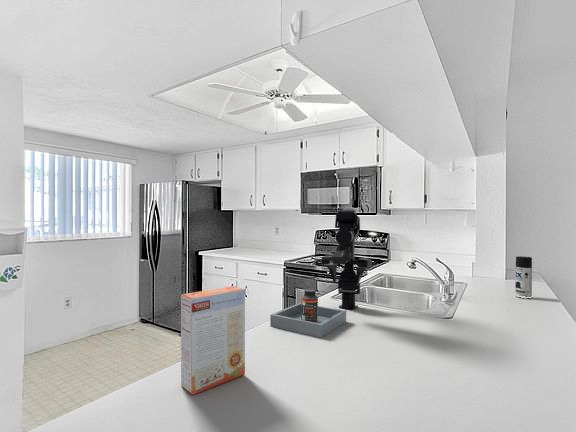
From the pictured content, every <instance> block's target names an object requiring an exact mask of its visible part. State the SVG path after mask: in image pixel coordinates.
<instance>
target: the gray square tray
mask: <svg viewBox="0 0 576 432" xmlns="http://www.w3.org/2000/svg"><path fill="white" fill-rule="evenodd" d="M301 303H302V302H298V303H296V304H294V305H291V306H289V307H287V308H284V309H281V310H279V311H276V312H274V313H273V312H272V313H271V314H270V317H269V319H270V320H269V321H270V323H269V324H270V327H272V328H277V329H280V330H281V329H282V330H286V331H291V332H295V333H298V334H299V333H300V334H302V335H303V334H304V335H307V336H312V337H314V338H315V337H316V338H323V337H325V336H326V335H328V334H330V333H331V332H332V331H334V330H336V329H337V328H339V327H340V326H342V325H343V324H345V323H346V322H347V310H343V309H337V308H333V307H327V306H326V307H325V306H322V305H321V306H319V305H318V319H317V322H316V323H315V322H310V321H305V320H301Z"/></svg>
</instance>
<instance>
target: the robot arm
mask: <svg viewBox="0 0 576 432" xmlns="http://www.w3.org/2000/svg"><path fill="white" fill-rule="evenodd" d="M334 228H335V229H338V231H337V232H336V234H335V239H336V242H337V243H338V245H337V247H336V250H335V251H334V252H333V253H332V254H331V255H324V256H322V257H321V260H320V264H321V265H324V267H326V268H327V269H328V271H329V273H330V277H331V278H332V281H333V283H334V284H335V283H336V282H337V292H338V294H341V304H340V305H338V308H340V309H345V310H352V311H353V310H355V309H357V308H359V305H358V304H356V295H357V296H358V295H360V294H361V279H362V278H363V275H364V273H365V271H366V270H368V269H369V268H370V267H372V266H373V261H372V259H371V258H365V257H364V258H363V257H361V258H357V259H356V258H355V249H356V247H355V244H356V242H355V240H357V238H358V236H359V232H360V231H361V217H359V216H358V214H357V213H356V210H355V209H345V210H340V209H339V210H338V211H337V213H335V222H334ZM338 265H340V266H341V265H344V266H343V270H341V272H340V273H339V278H338V281H337V269H338V267H337V266H338ZM355 266H357V267H356V268H355ZM354 268H355V269H354Z"/></svg>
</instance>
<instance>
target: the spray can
mask: <svg viewBox="0 0 576 432" xmlns="http://www.w3.org/2000/svg"><path fill="white" fill-rule="evenodd" d="M514 287H515V290H514V291H515V292H514V293H515V294H516V295H519V296H525V297H531V296H533V294H532V293H533V258H532V256H515V286H514ZM515 294H514V295H515Z"/></svg>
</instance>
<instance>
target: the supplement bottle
mask: <svg viewBox="0 0 576 432" xmlns="http://www.w3.org/2000/svg"><path fill="white" fill-rule="evenodd" d="M300 303H301V320H305V321H310V322H315V323H316V322H317V319H318V306H319V298H318V296H317V294H316V289H313V288H306V289H304V293H303V295H302V296H301V302H300Z"/></svg>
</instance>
